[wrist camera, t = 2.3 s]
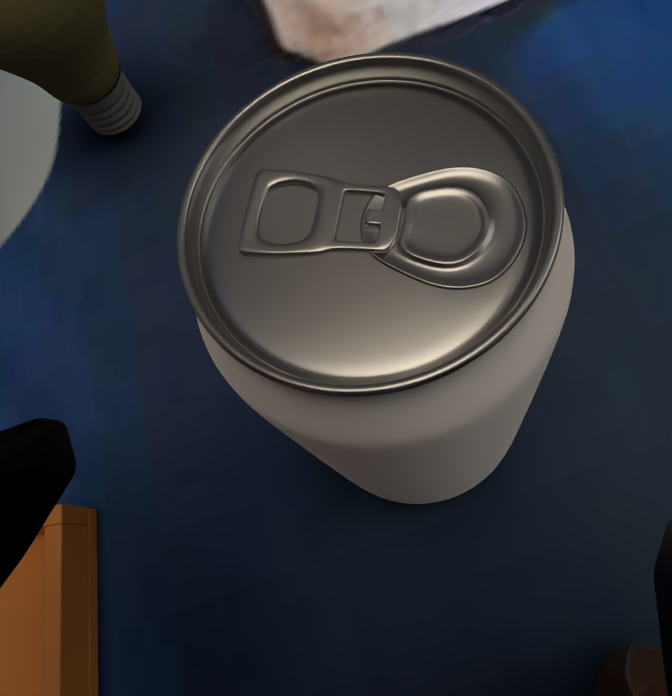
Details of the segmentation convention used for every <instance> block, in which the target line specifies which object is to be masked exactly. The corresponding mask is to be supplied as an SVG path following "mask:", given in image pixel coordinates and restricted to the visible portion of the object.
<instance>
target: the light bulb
mask: <svg viewBox="0 0 672 696" xmlns="http://www.w3.org/2000/svg"><path fill="white" fill-rule="evenodd" d="M0 69H1V70H4V71H6V72H9V73H12V74H14V75H17V76H19V77H22V78H24V79H26V80H28V81H31V82H33V83H35V84H37V85H38V86H40V87H41V88H43V89H44V90H45V91H47V92H48V93H49V94H51V95H52V96H53V97H55V98H56V99H58V100H60V101H62V102H65V103H67V104H70V105H72V106H73V107H74V108H75V109H76V110H77V111H78V112H79V113H80V115H81V116H82V117H83V118H84V119H85V120H86V121H87V122H88V124H89V125H90V126H91V127H92V128H93V129H94V130H95V131H96V132H98V133H100V134H103V135H114V134H117V133H120V132H123V131H126V130H128V129H129V128H130V127H131V126H132V125H133V123H134V122H135V121H136V119H137V118H138V116H139V114H140V111H141V99H140V97H139V95H138V94H137V93H136V91H135V90H134V88H133V87H132V86H131V84H130V83H129V81H128V80H127V78H126V77H125V75H124V74H123V72H122V70H121V66H120V63H119V61H118V56H117V52H116V49H115V47H114V45H113V42H112V40H111V37H110V34H109V31H108V26H107V20H106V10H105V0H0Z"/></svg>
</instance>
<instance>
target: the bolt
mask: <svg viewBox="0 0 672 696" xmlns="http://www.w3.org/2000/svg"><path fill="white" fill-rule="evenodd" d="M595 696H668V693H667V686H666V679H665V670H664V662H663V653H662V648H658V647H648V646H639V645H628V646H626V647H625V648H623V649H621V650H619V651H618V652H616V653H614V654H613V655H611V656H610V657H609V658H608V659H607V660H606V661H604V663H603V664H602V666H601V667H600V670H599V675H598V681H597V688H596V694H595Z"/></svg>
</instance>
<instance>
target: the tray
mask: <svg viewBox="0 0 672 696" xmlns="http://www.w3.org/2000/svg"><path fill="white" fill-rule="evenodd" d="M0 696H98V603H97V510H96V509H94V508H87V507H79V506H72V505H65V504H59V505H55V507H54V508H53V510H52V512H51V513H50V515H49V517H48V518H47V520H46V522H45V523H44V525H43V526H42V528H41V530H40V531H39V533H38V535H37V536H36V538H35V540H34V541H33V543H32V544H31V546H30V547H29V549H28V551H27V552H26V554H25V555H24V557H23V558H22V560H21V561H20V562H19V564H18V565H17V567H16V568H15V569H14V571H13V572H12V573H11V575H10V576H9V577H8V579H7V580H6V581H5V583H4V584H3V585H2V587H1V588H0Z"/></svg>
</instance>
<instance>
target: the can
mask: <svg viewBox="0 0 672 696" xmlns="http://www.w3.org/2000/svg"><path fill="white" fill-rule="evenodd" d="M177 259H178V266H179V271H180V276H181V280H182V283H183V286H184V289H185V292H186V295H187V297H188V300H189V302H190V304H191V306H192V308H193V310H194V312H195V314H196V316H197V320H198V324H199V328H200V331H201V334H202V337H203V340H204V342H205V345H206V347H207V349H208V352H209V354H210V356H211V357H212V359H213V361H214V363H215V365H216V366H217V368H218V369H219V371H220V372H221V374H222V375H223V376H224V378H225V379H226V380H227V382H228V383H229V384H230V385H231V387H232V388H233V389H234V390H235V391H236V393H237V394H238V395H239V396H240V397H241V398H242V399H243V400H244V401H245V402H246V403H247V404H248V405H249V406H251V407H252V408H253V409H254V410H255V411H256V412H258V413H259V414H260V415H261V416H262V417H263V418H265V419H266V420H267V421H268V422H270V423H271V424H272V425H274V426H275V427H276V428H278V429H279V430H280V431H282V432H283V433H284V434H286V435H287V436H288V437H290V438H291V439H292V440H294V441H295V442H296V443H298V444H299V445H301V446H302V447H303V448H305V449H306V450H307V451H309V452H310V453H312V454H313V455H314V456H316V457H317V458H319V459H320V460H321V461H323V462H324V463H326V464H327V465H328V466H330V467H331V468H333V469H334V470H335V471H337V472H338V473H340V474H341V475H343V476H344V477H345V478H347V479H348V480H350V481H351V482H353V483H354V484H356V485H357V486H359V487H361V488H362V489H364V490H366V491H368V492H370V493H372V494H374V495H376V496H378V497H381V498H384V499H387V500H391V501H395V502H400V503H408V504H426V503H434V502H439V501H443V500H447V499H450V498H453V497H456V496H458V495H460V494H462V493H464V492H466V491H468V490H470V489H471V488H473V487H474V486H476V485H477V484H479V483H480V482H481V481H483V480H484V479H485V478H486V477H487V476H488V475H489V474H490V473H491V472H492V471H493V470H494V469H495V468H496V466H497V465H498V464H499V463H500V461H501V460H502V458H503V457H504V455H505V454H506V452H507V451H508V449H509V447H510V446H511V444H512V442H513V440H514V438H515V436H516V434H517V431H518V429H519V427H520V425H521V423H522V421H523V418H524V416H525V414H526V412H527V410H528V407H529V405H530V403H531V401H532V398H533V396H534V394H535V392H536V389H537V387H538V385H539V382H540V380H541V378H542V376H543V373H544V371H545V369H546V366H547V364H548V362H549V359H550V357H551V354H552V352H553V350H554V347H555V345H556V342H557V340H558V337H559V335H560V332H561V329H562V326H563V323H564V320H565V317H566V314H567V310H568V307H569V302H570V298H571V292H572V285H573V277H574V244H573V236H572V231H571V226H570V222H569V218H568V215H567V212H566V209H565V206H564V192H563V184H562V179H561V174H560V170H559V166H558V163H557V160H556V157H555V154H554V152H553V149H552V147H551V145H550V143H549V141H548V139H547V137H546V135H545V134H544V132H543V130H542V129H541V127H540V126H539V124H538V123H537V121H536V120H535V119H534V118H533V116H532V115H531V114H530V113H529V111H528V110H527V109H526V108H525V107H524V106H523V105H522V104H521V103H520V102H519V101H518V100H517V99H516V98H515V97H514V96H513V95H511V94H510V93H509V92H508V91H507V90H505V89H504V88H503V87H501V86H500V85H498V84H497V83H495V82H494V81H492V80H491V79H489V78H487V77H485V76H484V75H482V74H480V73H478V72H476V71H474V70H472V69H469V68H467V67H465V66H462V65H459V64H456V63H453V62H450V61H447V60H443V59H440V58H435V57H431V56H425V55H419V54H410V53H389V52H388V53H369V54H360V55H354V56H348V57H343V58H339V59H335V60H331V61H327V62H324V63H321V64H318V65H315V66H312V67H309V68H307V69H304V70H302V71H300V72H297V73H295V74H293V75H291V76H289V77H287V78H285V79H283V80H281V81H279V82H278V83H276V84H274V85H272V86H271V87H269V88H268V89H266V90H265V91H263V92H262V93H260V94H259V95H257V96H256V97H255V98H253V99H252V100H251V101H249V102H248V103H247V104H246V105H245V106H243V107H242V108H241V109H240V110H239V111H238V112H237V113H236V114H234V115H233V116H232V117H231V118H230V119H229V120H228V121H227V123H226V124H225V125H224V126H223V127H222V128H221V129H220V130H219V132H218V133H217V134H216V135H215V137H214V138H213V139H212V140H211V142H210V143H209V145H208V146H207V148H206V149H205V151H204V152H203V154H202V155H201V157H200V159H199V160H198V162H197V164H196V166H195V168H194V170H193V172H192V174H191V177H190V179H189V181H188V184H187V186H186V189H185V192H184V195H183V199H182V203H181V207H180V211H179V217H178V224H177Z"/></svg>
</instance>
